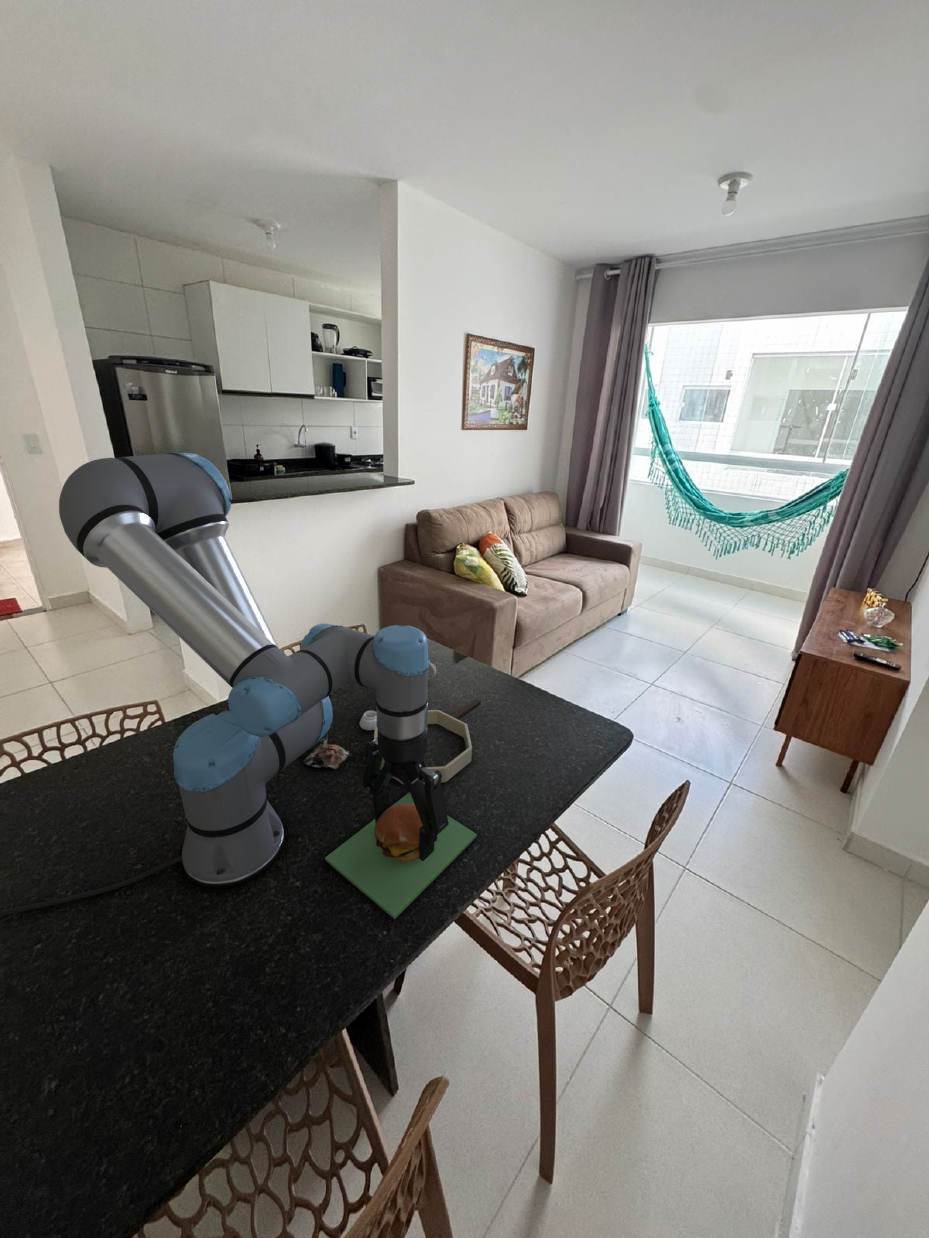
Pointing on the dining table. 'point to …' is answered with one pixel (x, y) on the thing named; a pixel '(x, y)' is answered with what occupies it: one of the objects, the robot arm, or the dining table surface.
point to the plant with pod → (327, 753)
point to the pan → (456, 727)
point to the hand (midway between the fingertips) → (404, 838)
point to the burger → (399, 832)
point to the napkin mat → (396, 864)
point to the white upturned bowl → (368, 720)
